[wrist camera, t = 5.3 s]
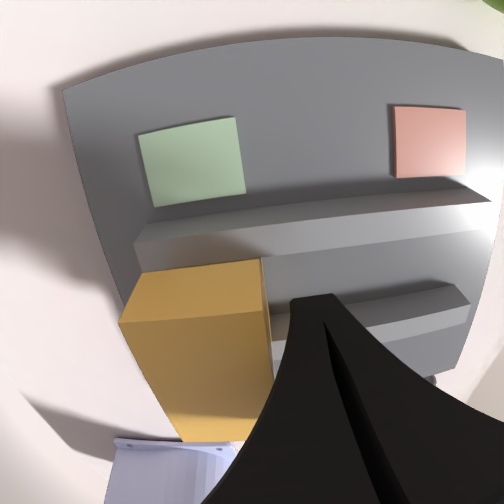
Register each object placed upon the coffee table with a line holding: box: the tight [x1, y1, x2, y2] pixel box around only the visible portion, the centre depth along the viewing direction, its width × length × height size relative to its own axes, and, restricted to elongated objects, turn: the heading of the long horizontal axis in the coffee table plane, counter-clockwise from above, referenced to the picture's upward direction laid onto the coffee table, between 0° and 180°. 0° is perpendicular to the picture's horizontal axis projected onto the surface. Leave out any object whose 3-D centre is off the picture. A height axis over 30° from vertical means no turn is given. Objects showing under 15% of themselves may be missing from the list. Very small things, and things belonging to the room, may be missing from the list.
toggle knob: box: [118, 258, 275, 442], centre depth 9 cm, size 3×5×5 cm, turn 8°
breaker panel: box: [63, 37, 504, 386], centre depth 12 cm, size 16×20×3 cm
